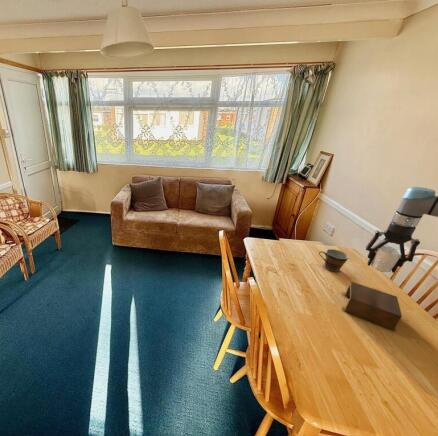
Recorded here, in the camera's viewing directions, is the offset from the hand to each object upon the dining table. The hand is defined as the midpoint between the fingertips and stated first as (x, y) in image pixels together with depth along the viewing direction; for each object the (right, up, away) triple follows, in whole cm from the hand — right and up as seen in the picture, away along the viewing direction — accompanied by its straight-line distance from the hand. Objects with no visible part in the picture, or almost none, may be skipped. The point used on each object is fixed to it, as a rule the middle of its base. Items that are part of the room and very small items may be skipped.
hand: (380, 267), depth 105 cm
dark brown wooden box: (-8, -19, -1) cm, 21 cm away
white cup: (0, 0, 0) cm, 0 cm away
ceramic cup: (-2, -6, +28) cm, 29 cm away
